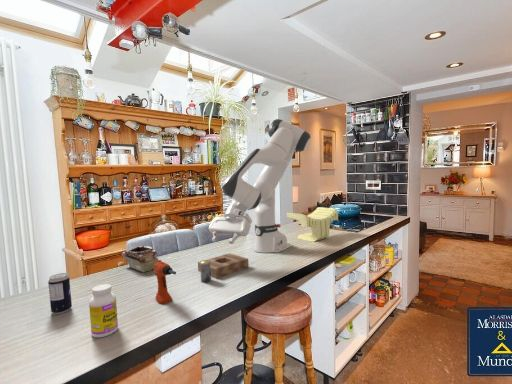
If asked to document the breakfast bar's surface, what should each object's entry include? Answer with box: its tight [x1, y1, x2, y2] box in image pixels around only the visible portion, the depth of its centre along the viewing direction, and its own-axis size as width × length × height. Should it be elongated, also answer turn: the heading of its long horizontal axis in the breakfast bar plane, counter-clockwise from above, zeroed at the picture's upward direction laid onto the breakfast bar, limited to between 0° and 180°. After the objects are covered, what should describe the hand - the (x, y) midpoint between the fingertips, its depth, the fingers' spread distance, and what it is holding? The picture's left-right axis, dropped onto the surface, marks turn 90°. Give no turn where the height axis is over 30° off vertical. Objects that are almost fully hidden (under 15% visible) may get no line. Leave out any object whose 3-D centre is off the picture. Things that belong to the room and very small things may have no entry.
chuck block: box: [197, 252, 250, 279], centre depth 127 cm, size 18×14×4 cm
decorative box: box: [121, 245, 159, 273], centre depth 133 cm, size 13×20×10 cm, turn 45°
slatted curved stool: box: [286, 206, 339, 242], centre depth 176 cm, size 30×16×18 cm, turn 129°
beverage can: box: [47, 272, 73, 315], centre depth 92 cm, size 6×6×12 cm
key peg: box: [199, 259, 212, 284], centre depth 113 cm, size 4×4×8 cm
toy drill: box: [153, 259, 177, 305], centre depth 94 cm, size 5×18×14 cm, turn 38°
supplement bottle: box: [88, 283, 119, 338], centre depth 78 cm, size 7×7×13 cm
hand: (222, 241), depth 122 cm, fingers open, 8 cm apart
